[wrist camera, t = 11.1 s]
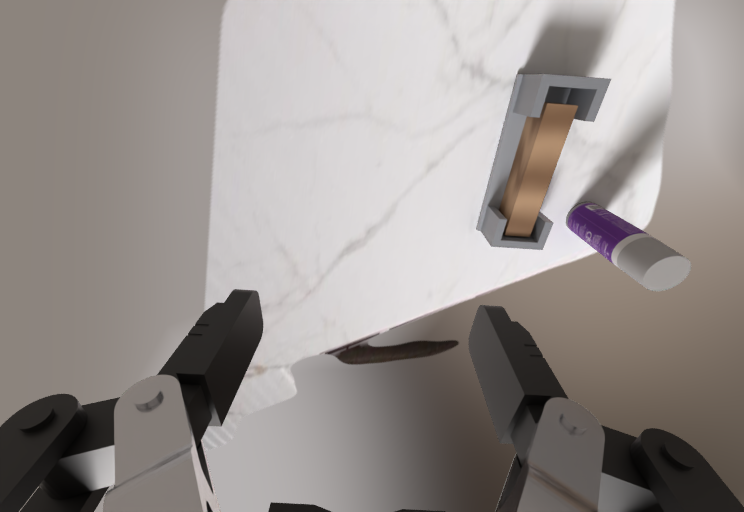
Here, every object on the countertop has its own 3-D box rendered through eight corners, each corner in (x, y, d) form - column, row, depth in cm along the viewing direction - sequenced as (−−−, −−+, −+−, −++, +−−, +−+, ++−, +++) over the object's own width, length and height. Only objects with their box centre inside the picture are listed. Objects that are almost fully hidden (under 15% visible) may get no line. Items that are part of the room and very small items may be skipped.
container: (559, 217, 44) (634, 274, 31) (590, 195, 42) (683, 246, 30) (575, 237, 46) (652, 299, 33) (605, 216, 44) (699, 274, 31)
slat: (531, 100, 36) (547, 103, 33) (559, 103, 36) (578, 105, 33) (495, 222, 44) (504, 235, 41) (518, 224, 44) (529, 236, 41)
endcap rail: (516, 74, 35) (538, 73, 31) (584, 79, 35) (616, 79, 31) (476, 228, 45) (487, 246, 41) (528, 232, 46) (546, 250, 41)
